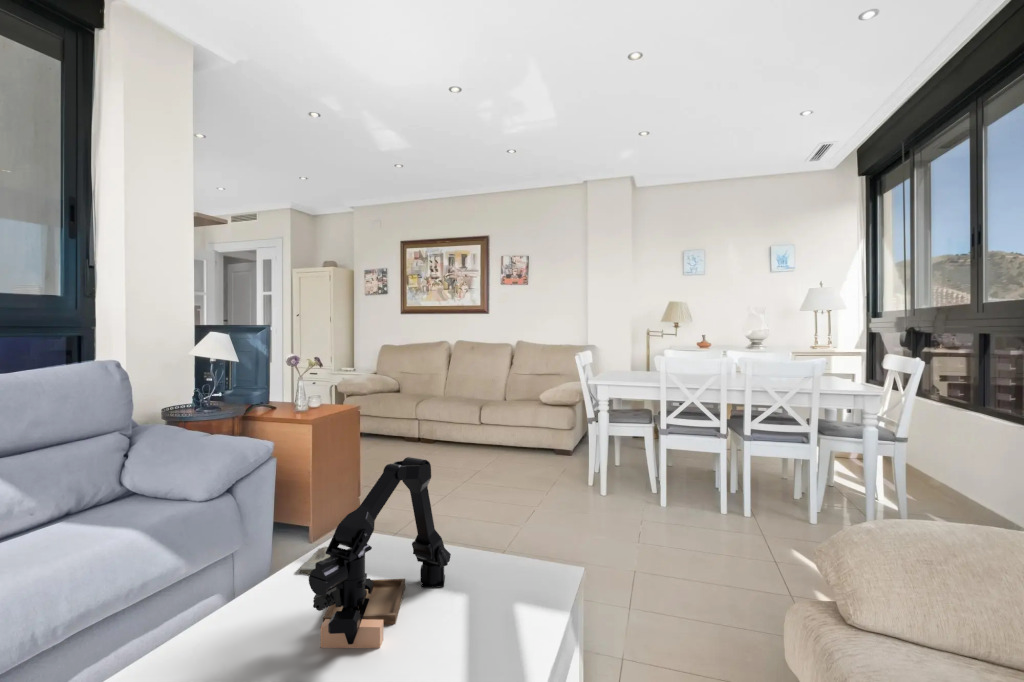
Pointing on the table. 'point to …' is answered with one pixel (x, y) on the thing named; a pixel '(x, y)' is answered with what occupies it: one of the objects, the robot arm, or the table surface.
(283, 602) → the table surface
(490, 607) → the table surface
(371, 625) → the light brown rectangular block
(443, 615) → the table surface
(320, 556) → the fossil rock
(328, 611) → the tray
